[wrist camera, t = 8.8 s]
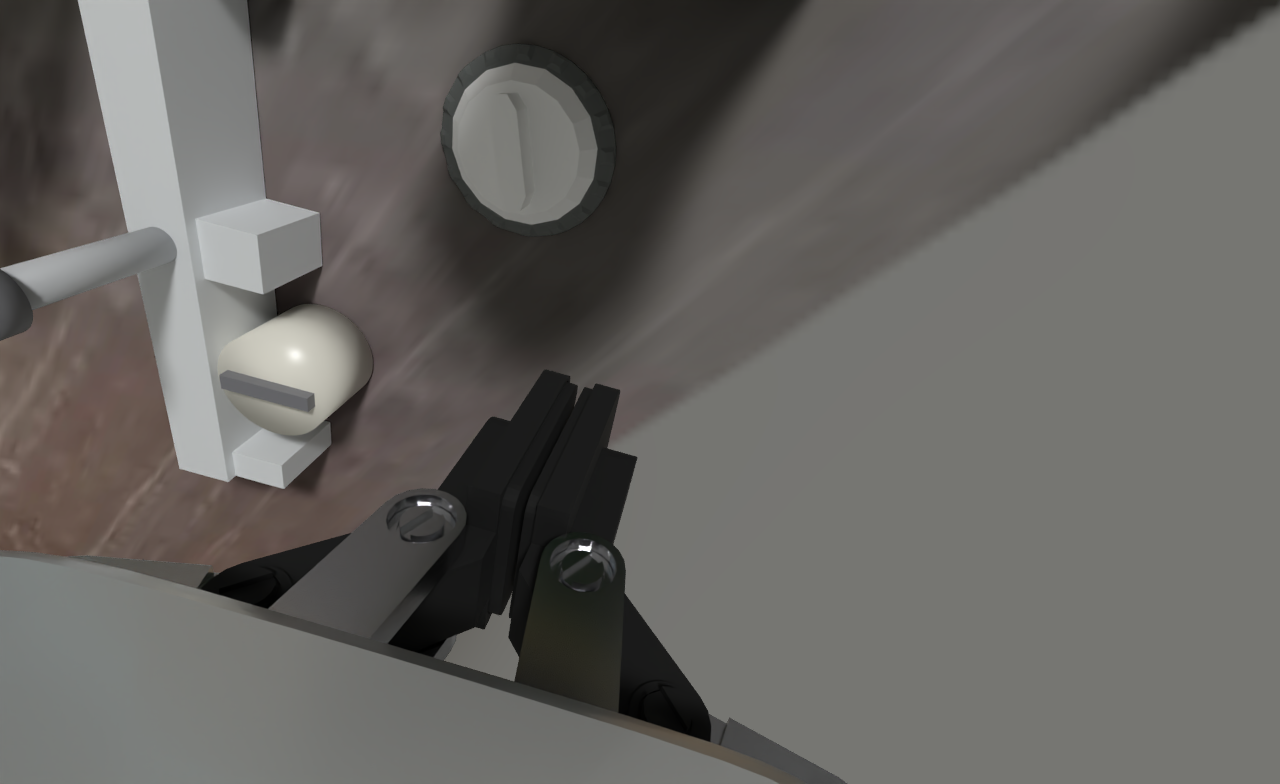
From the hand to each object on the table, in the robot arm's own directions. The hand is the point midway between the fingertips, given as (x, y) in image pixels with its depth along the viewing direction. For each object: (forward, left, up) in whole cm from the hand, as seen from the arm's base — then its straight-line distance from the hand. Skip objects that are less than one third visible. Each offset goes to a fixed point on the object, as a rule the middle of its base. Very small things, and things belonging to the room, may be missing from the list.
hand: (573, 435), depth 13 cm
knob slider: (+15, +9, -14) cm, 22 cm away
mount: (+17, +3, -14) cm, 23 cm away
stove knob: (+6, -3, -15) cm, 16 cm away
